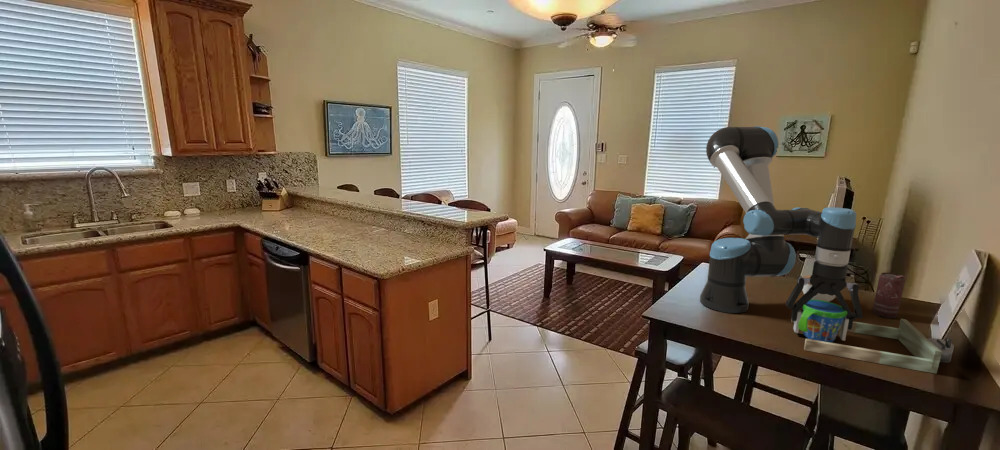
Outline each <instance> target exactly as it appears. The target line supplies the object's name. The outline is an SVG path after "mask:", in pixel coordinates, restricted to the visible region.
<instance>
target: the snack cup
mask: <svg viewBox="0 0 1000 450" xmlns="http://www.w3.org/2000/svg"><path fill="white" fill-rule="evenodd" d="M801 314H802V315H801V318H800V321H799V323H798V328H799V330H800V331H801V332H802V334H803V336H804V337H805V338H806V339H812V340H818V341H824V342H829V343H834V341H835V340H836V338H837V335H838V333H839V332H840V330H839V329H840V326H841V323H842V321H843V318H844V317H845V316H846V317H847V311H845V310H844V309H843V308H842V306H841V304H837V303H834V302H831V301H829V302H827V301H822V300H814V299H811V300H809V301H808V302H807V303H806V304H805V305H803V307H802V308H801Z"/></svg>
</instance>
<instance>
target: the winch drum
mask: <svg viewBox="0 0 1000 450" xmlns="http://www.w3.org/2000/svg"><path fill="white" fill-rule="evenodd" d="M927 339H928V340H929V341H931V342H932V343H933V344H934V345H935V346H936V347H937V348H938V349H939V350H940V351H942V354H941V358H940V362H939V363H944V364H947V363H948V364H949V363H951V361H952V356H953V352H954V348H955V345H954V344H953V343H952V342H953V338H951V337H946V339H942V338H934V337H931V338H930V337H929V338H927Z"/></svg>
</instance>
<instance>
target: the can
mask: <svg viewBox="0 0 1000 450" xmlns="http://www.w3.org/2000/svg"><path fill="white" fill-rule="evenodd" d="M877 281H878V283H877V286H876V292H875V296H874V301H873V307H872V313H873V315H876V316H877V317H881V318H885V319H896V318H897V317H898V314H899V309H900V305H901V302H902V301H901V300H902V295H903V291H904V286H905V283H906V277H905V276H904V275H901V274H897V273H893V272H881V274H879V277H878V280H877Z"/></svg>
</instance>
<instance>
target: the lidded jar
mask: <svg viewBox="0 0 1000 450" xmlns="http://www.w3.org/2000/svg"><path fill="white" fill-rule="evenodd" d="M811 276H812V274H809V275H803V276H802V277H803V278H810V277H811ZM811 287H812V285H811V283H810V282H808V283H807V285H804V287H803V289H802V292H803V295H804V294H805V293H806V292H807V291H808V290H809V289H810V288H811ZM835 298H837V297H836V296H835V295H833V296H832V295H828V294H820V293H818V294H817V295H816V296H814V297H813V298H812V299H814V300H822V301H827V302H831V301H833V300H834V299H835Z"/></svg>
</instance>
